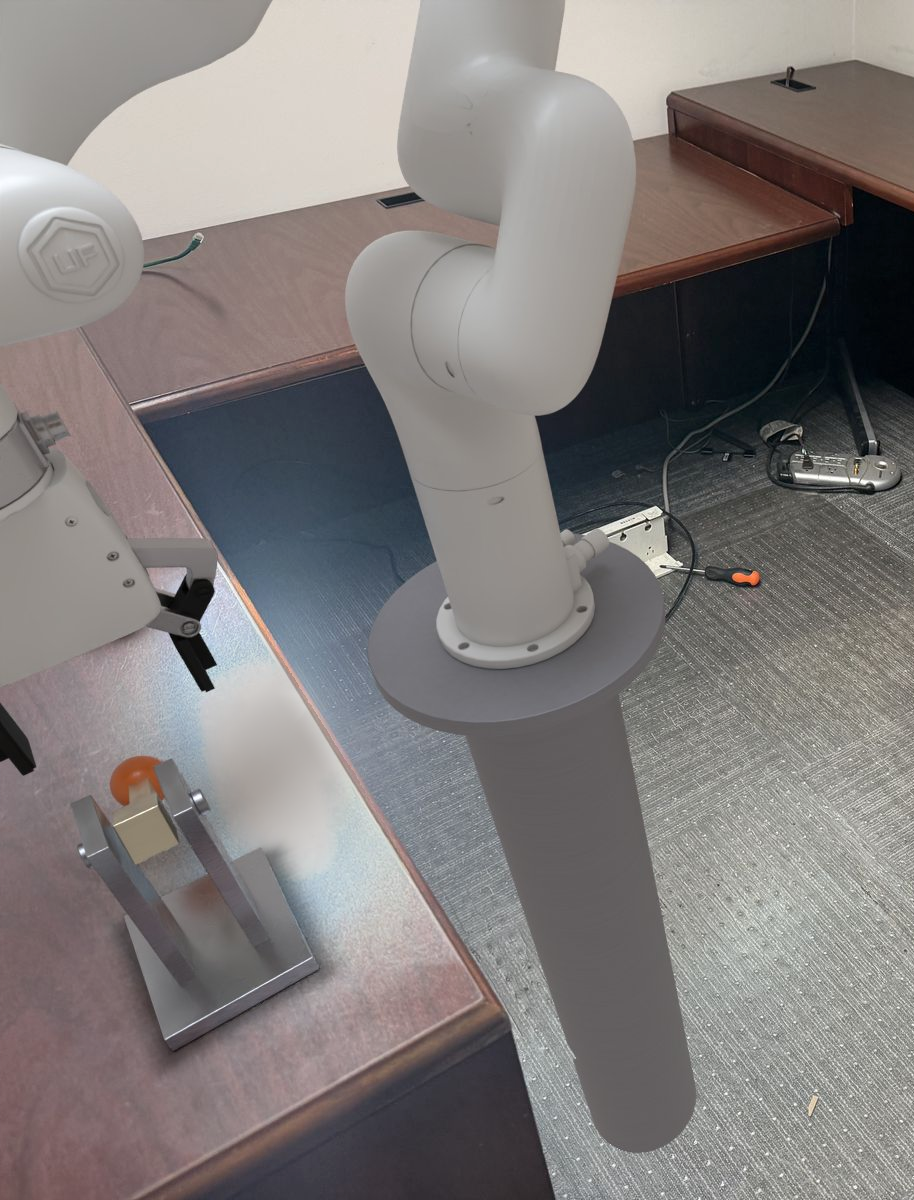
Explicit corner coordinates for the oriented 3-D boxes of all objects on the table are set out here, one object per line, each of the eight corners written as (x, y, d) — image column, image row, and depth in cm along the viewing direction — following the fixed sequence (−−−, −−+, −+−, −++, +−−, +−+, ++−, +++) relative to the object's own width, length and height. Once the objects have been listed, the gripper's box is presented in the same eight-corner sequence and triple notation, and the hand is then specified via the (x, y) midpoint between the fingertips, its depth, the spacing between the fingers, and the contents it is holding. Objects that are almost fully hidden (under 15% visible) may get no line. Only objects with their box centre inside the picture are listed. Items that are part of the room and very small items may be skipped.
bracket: (131, 927, 65) (28, 785, 57) (267, 858, 69) (187, 715, 61) (173, 1052, 59) (63, 912, 51) (319, 969, 63) (239, 826, 55)
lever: (125, 811, 67) (99, 766, 66) (180, 785, 68) (156, 741, 67) (127, 877, 56) (97, 824, 55) (193, 845, 57) (164, 793, 56)
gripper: (125, 380, 58) (249, 619, 69) (-269, 508, 51) (-59, 753, 62) (160, 436, 53) (286, 683, 65) (-269, 587, 46) (-42, 836, 57)
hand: (117, 717), depth 63 cm, fingers open, 9 cm apart
